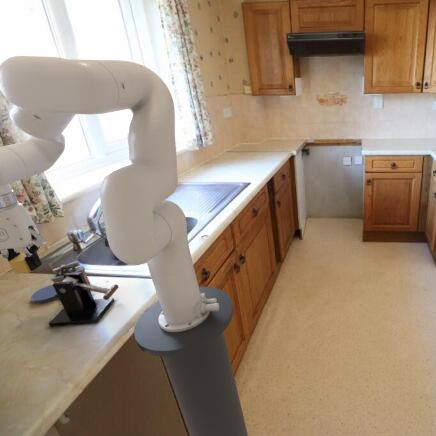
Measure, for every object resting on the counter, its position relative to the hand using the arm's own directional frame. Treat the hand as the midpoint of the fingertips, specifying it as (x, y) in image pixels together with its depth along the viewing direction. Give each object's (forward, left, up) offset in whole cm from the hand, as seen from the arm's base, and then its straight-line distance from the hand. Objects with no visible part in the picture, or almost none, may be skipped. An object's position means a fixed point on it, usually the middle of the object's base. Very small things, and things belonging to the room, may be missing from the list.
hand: (28, 267), depth 82 cm
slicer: (-9, 0, -16) cm, 18 cm away
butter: (0, 0, 0) cm, 0 cm away
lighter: (-1, -10, -16) cm, 18 cm away
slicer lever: (-13, 0, -8) cm, 15 cm away
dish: (+7, -10, -16) cm, 20 cm away
